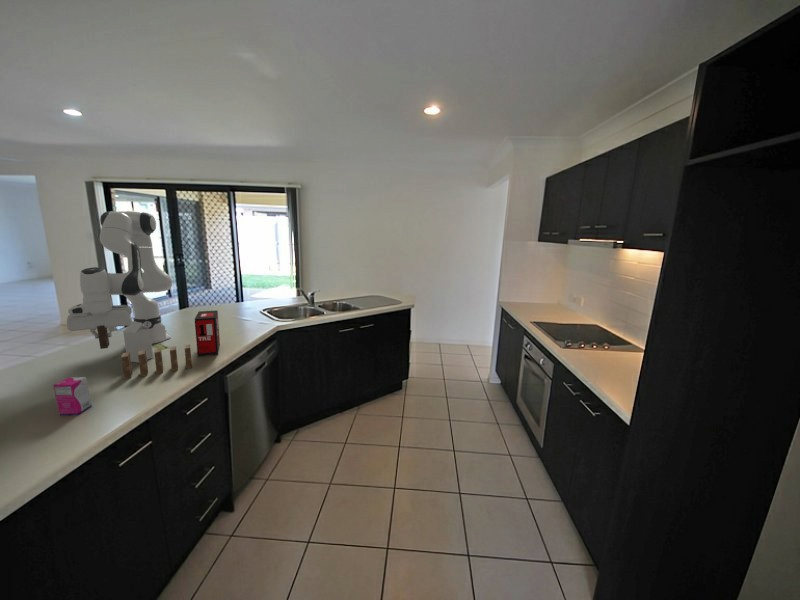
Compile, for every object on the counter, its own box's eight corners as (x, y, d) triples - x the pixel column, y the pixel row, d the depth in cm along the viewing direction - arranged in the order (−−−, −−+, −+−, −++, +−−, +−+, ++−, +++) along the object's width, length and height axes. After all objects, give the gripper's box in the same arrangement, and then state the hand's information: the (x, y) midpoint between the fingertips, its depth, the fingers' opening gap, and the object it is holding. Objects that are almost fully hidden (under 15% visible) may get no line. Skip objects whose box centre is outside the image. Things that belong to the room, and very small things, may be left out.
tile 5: (171, 371, 143) (169, 350, 141) (172, 367, 147) (170, 347, 145) (177, 370, 144) (175, 349, 142) (177, 366, 148) (175, 346, 146)
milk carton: (139, 363, 150) (134, 324, 146) (127, 361, 151) (121, 323, 147) (153, 357, 156) (149, 321, 153) (141, 356, 158) (137, 319, 154)
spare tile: (100, 348, 134) (96, 326, 131) (102, 345, 138) (99, 323, 135) (107, 348, 135) (103, 325, 133) (109, 344, 139) (106, 322, 137)
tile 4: (156, 373, 140) (154, 352, 138) (157, 369, 144) (155, 349, 142) (162, 372, 141) (160, 351, 139) (163, 368, 145) (161, 348, 143)
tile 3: (140, 376, 137) (138, 354, 135) (142, 372, 141) (139, 351, 139) (147, 375, 138) (144, 353, 136) (148, 371, 142) (145, 350, 140)
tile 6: (186, 368, 146) (184, 348, 144) (186, 365, 150) (184, 345, 148) (192, 367, 147) (190, 347, 145) (191, 364, 151) (189, 344, 149)
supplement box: (74, 406, 112) (69, 376, 110) (92, 406, 113) (87, 376, 110) (58, 415, 106) (52, 384, 104) (77, 415, 107) (72, 384, 105)
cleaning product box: (201, 346, 174) (198, 311, 170) (219, 344, 178) (217, 310, 174) (197, 356, 160) (194, 319, 156) (217, 354, 164) (215, 317, 160)
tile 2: (124, 379, 134) (121, 357, 132) (125, 374, 138) (122, 353, 136) (130, 378, 135) (128, 356, 133) (132, 373, 139) (129, 352, 137)
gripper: (131, 302, 141) (135, 332, 144) (67, 306, 129) (72, 338, 132) (129, 306, 136) (134, 336, 139) (62, 310, 124) (68, 343, 127)
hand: (103, 337), depth 135 cm, fingers closed on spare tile, 2 cm apart
